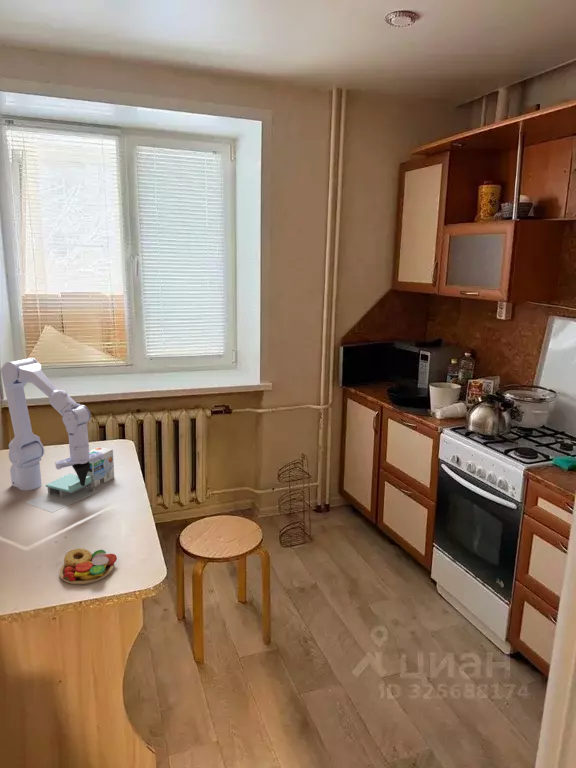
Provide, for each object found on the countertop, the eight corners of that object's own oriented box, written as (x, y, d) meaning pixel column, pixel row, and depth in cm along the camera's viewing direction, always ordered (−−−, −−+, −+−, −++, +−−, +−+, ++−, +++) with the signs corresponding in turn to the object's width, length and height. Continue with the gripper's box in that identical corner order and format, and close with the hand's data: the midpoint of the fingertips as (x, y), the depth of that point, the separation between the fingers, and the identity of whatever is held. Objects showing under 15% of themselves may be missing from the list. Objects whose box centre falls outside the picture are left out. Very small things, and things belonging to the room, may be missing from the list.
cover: (45, 486, 174) (45, 480, 173) (69, 475, 183) (69, 469, 182) (71, 492, 170) (70, 486, 169) (94, 481, 179) (94, 474, 178)
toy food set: (69, 558, 141) (68, 546, 140) (120, 556, 142) (120, 545, 142) (52, 588, 128) (51, 576, 127) (109, 586, 129) (108, 574, 129)
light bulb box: (95, 489, 182) (93, 458, 180) (79, 485, 185) (76, 456, 182) (115, 477, 192) (113, 448, 190) (99, 474, 194) (97, 446, 192)
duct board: (24, 504, 170) (23, 493, 169) (72, 485, 185) (71, 474, 184) (52, 514, 163) (51, 503, 163) (99, 493, 179) (98, 482, 178)
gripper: (58, 453, 162) (62, 495, 165) (106, 443, 170) (109, 483, 173) (51, 446, 167) (55, 487, 170) (98, 437, 176) (101, 476, 179)
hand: (82, 485), depth 172 cm, fingers closed, pressing on cover
